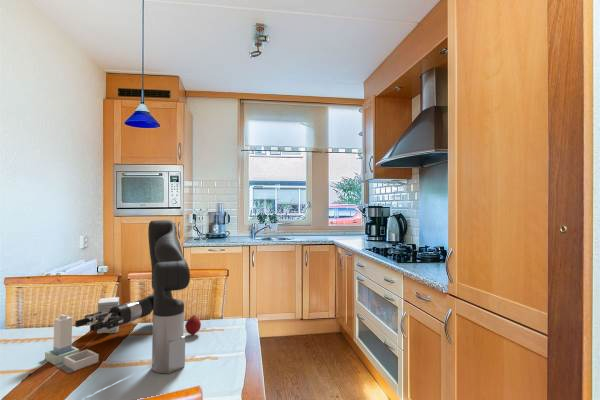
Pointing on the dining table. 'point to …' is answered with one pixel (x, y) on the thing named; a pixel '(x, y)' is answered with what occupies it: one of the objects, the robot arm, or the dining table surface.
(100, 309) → the supplement box
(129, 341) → the dining table surface
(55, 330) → the milk carton
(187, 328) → the onion
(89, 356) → the double bin tray
